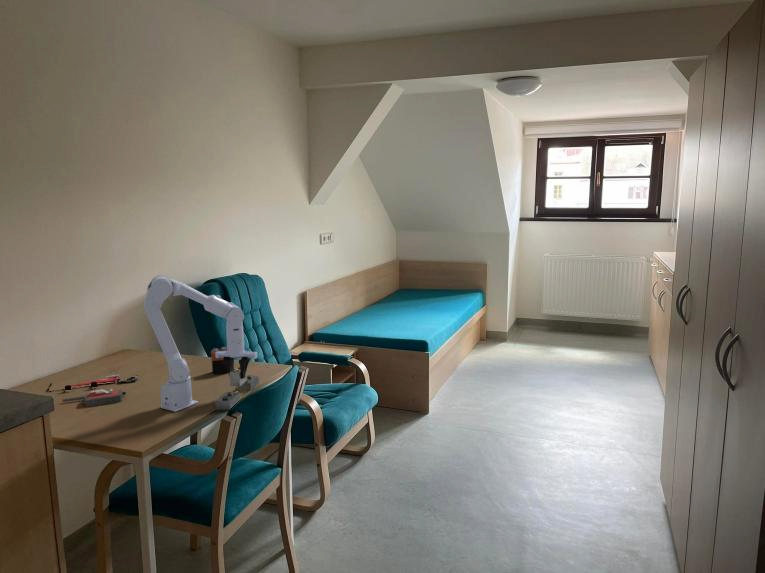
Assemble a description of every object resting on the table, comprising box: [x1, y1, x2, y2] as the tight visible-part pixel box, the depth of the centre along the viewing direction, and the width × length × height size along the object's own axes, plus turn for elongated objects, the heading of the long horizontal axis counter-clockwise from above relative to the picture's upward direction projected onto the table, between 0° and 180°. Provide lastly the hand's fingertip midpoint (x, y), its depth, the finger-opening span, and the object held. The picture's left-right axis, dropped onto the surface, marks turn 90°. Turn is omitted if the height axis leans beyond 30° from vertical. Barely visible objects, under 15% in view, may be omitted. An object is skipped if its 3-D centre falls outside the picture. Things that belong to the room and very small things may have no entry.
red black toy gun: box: [64, 373, 138, 391], centre depth 211 cm, size 30×3×15 cm
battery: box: [210, 346, 229, 375], centre depth 222 cm, size 4×7×10 cm, turn 111°
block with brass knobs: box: [229, 365, 247, 387], centre depth 195 cm, size 6×4×6 cm, turn 172°
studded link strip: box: [214, 374, 260, 411], centre depth 195 cm, size 26×5×4 cm, turn 172°
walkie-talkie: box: [61, 388, 127, 408], centre depth 191 cm, size 9×4×20 cm
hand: (237, 377), depth 194 cm, fingers closed on block with brass knobs, 3 cm apart
